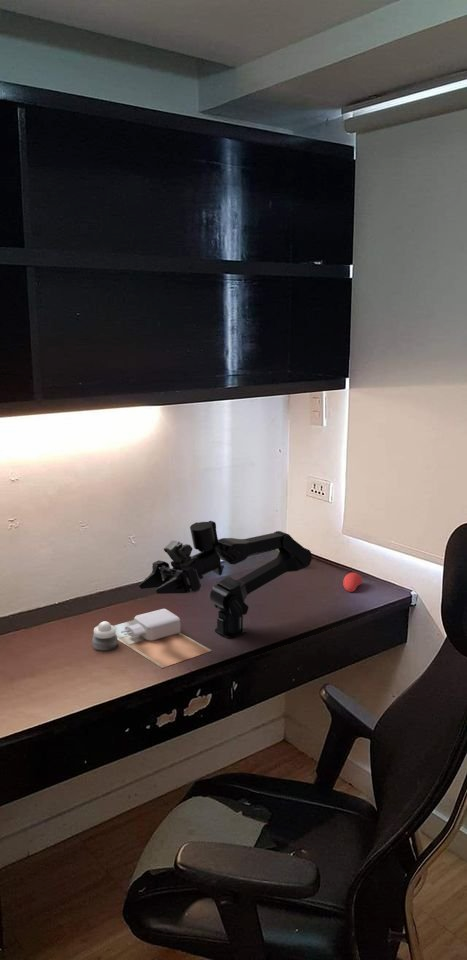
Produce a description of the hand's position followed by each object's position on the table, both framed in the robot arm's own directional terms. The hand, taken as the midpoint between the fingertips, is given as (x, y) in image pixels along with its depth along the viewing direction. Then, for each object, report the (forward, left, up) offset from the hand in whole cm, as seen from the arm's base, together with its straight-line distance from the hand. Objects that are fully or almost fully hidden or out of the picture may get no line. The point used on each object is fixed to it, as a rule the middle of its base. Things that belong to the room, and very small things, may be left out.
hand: (147, 589), depth 186 cm
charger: (-7, -10, -18) cm, 22 cm away
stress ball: (-78, 0, -18) cm, 80 cm away
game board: (-3, -7, -18) cm, 19 cm away
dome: (+5, -12, -15) cm, 20 cm away
